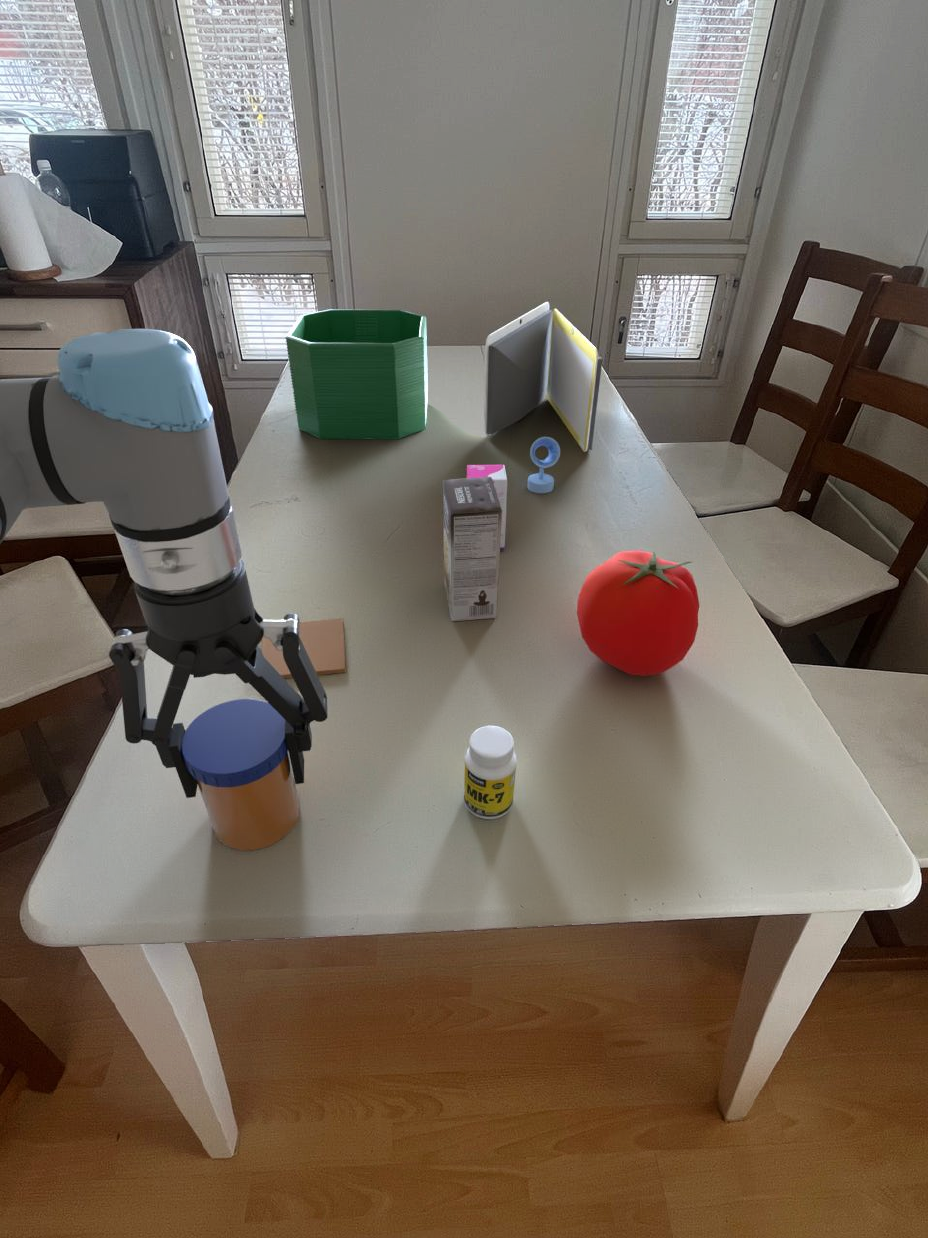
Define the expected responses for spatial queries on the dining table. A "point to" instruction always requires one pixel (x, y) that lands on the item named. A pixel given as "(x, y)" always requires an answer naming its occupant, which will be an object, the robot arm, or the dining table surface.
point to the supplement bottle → (490, 772)
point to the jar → (254, 809)
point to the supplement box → (500, 485)
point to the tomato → (639, 612)
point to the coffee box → (471, 547)
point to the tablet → (541, 373)
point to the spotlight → (543, 466)
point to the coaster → (313, 647)
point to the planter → (359, 373)
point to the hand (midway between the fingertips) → (247, 778)
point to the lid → (234, 743)
